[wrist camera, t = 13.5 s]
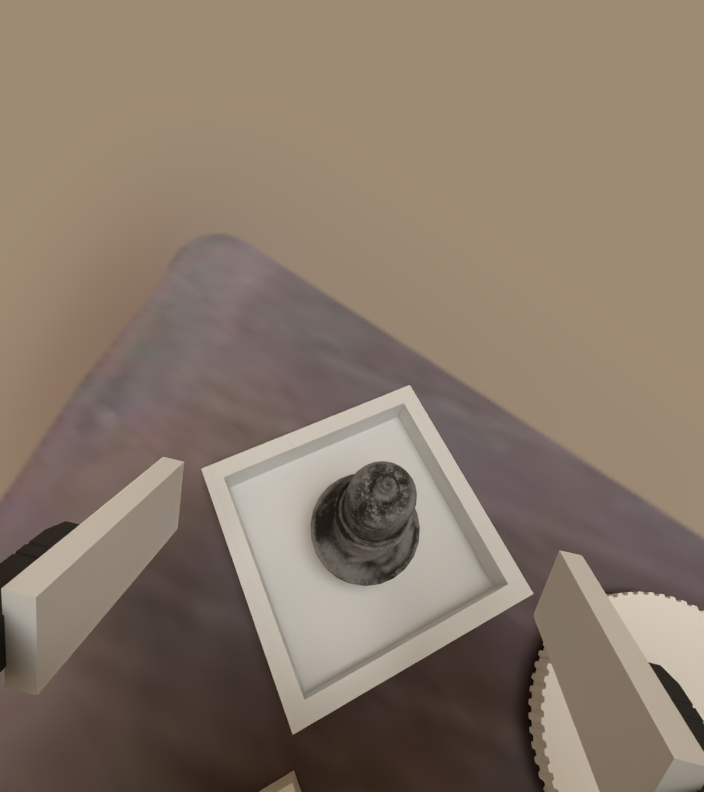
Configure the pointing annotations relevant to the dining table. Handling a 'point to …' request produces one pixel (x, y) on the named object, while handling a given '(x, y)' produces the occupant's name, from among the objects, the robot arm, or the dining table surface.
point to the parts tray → (336, 599)
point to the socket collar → (284, 784)
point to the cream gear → (660, 644)
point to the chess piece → (367, 524)
